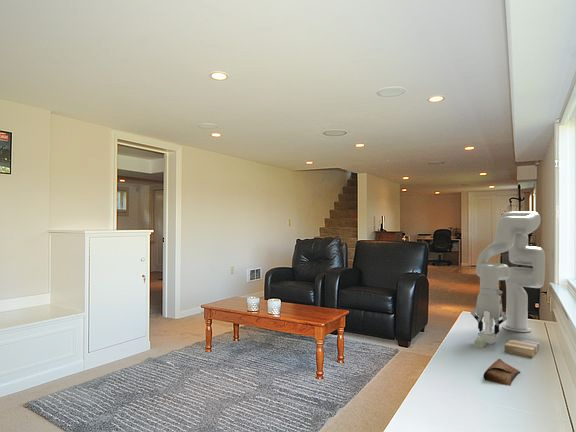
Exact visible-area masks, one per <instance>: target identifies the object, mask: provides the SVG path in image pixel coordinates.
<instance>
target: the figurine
mask: <svg viewBox="0 0 576 432" xmlns="http://www.w3.org/2000/svg"><path fill="white" fill-rule="evenodd" d="M483 323H484V325H485V326H484V328H485V329H484V330H483V331H481V332H480V331H479V332H478V333H477V335H478V337H479V338H485V344H488V345H489V344H491V345H494V343H495V341H496V340H497V338H498V337H499V335H500V334H499V333H497V334H494V332H493V327H494V318H490V313H489V312H488V311H484V317H483Z"/></svg>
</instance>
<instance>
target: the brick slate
mask: <svg viewBox="0 0 576 432" xmlns="http://www.w3.org/2000/svg"><path fill="white" fill-rule="evenodd" d="M522 341H523V342H528V343H534V344H538V351H540V350H541V343H540V342H538V341H532V340H528V339H523V340H522Z"/></svg>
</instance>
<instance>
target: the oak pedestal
mask: <svg viewBox="0 0 576 432" xmlns="http://www.w3.org/2000/svg"><path fill="white" fill-rule="evenodd" d="M538 351H539V350H538V344H534V343H528V342H523V340H517V339H510V340H508V341H507V342H506V343H505V344H504V353H509V354H512V355H518V356H523V357H527V358H532V359H533V358H534V357H535V356H536V355H537V353H538Z"/></svg>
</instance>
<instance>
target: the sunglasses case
mask: <svg viewBox="0 0 576 432" xmlns="http://www.w3.org/2000/svg"><path fill="white" fill-rule="evenodd" d="M520 373H521V371H520V370H518V369H516V368H515V367H513V366H511V365H510V364H508V363H506V362H505V361H503V360H502V359H501V358H497V359H496V360H495V361H494V362H492V364H490V366H489V367H488V368H487V369H486V370H485V371H484V373H483V380H484V381H485V382H486V381H487V382H491V383H494V384H500V385H505V386H508V387H510V386H512V382H513V381H514V380H515V378H516V376H518V375H519V374H520Z"/></svg>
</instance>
